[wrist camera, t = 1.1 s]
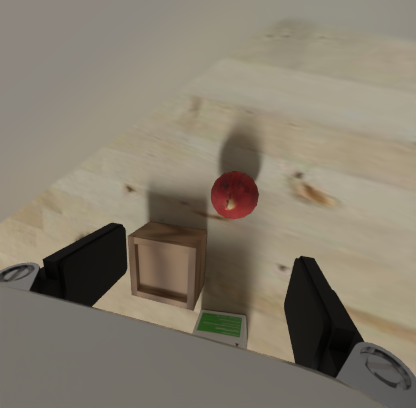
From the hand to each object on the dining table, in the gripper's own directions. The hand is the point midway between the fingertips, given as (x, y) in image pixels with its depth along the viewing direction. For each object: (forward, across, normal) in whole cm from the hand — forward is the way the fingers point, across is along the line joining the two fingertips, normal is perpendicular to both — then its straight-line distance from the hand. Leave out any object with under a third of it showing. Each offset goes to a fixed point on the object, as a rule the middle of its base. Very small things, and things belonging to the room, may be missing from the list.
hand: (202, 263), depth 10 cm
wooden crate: (+18, +8, +12) cm, 23 cm away
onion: (+18, -1, 0) cm, 19 cm away
